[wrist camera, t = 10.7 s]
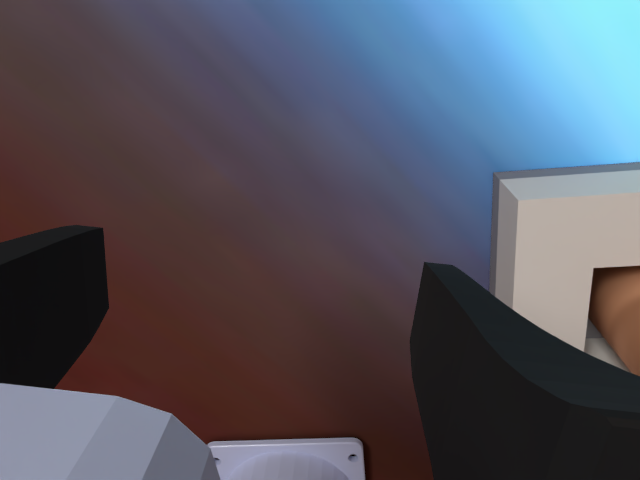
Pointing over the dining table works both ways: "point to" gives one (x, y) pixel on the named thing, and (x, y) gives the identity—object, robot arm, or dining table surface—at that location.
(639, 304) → the peg
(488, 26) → the dining table surface
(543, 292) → the hole block
